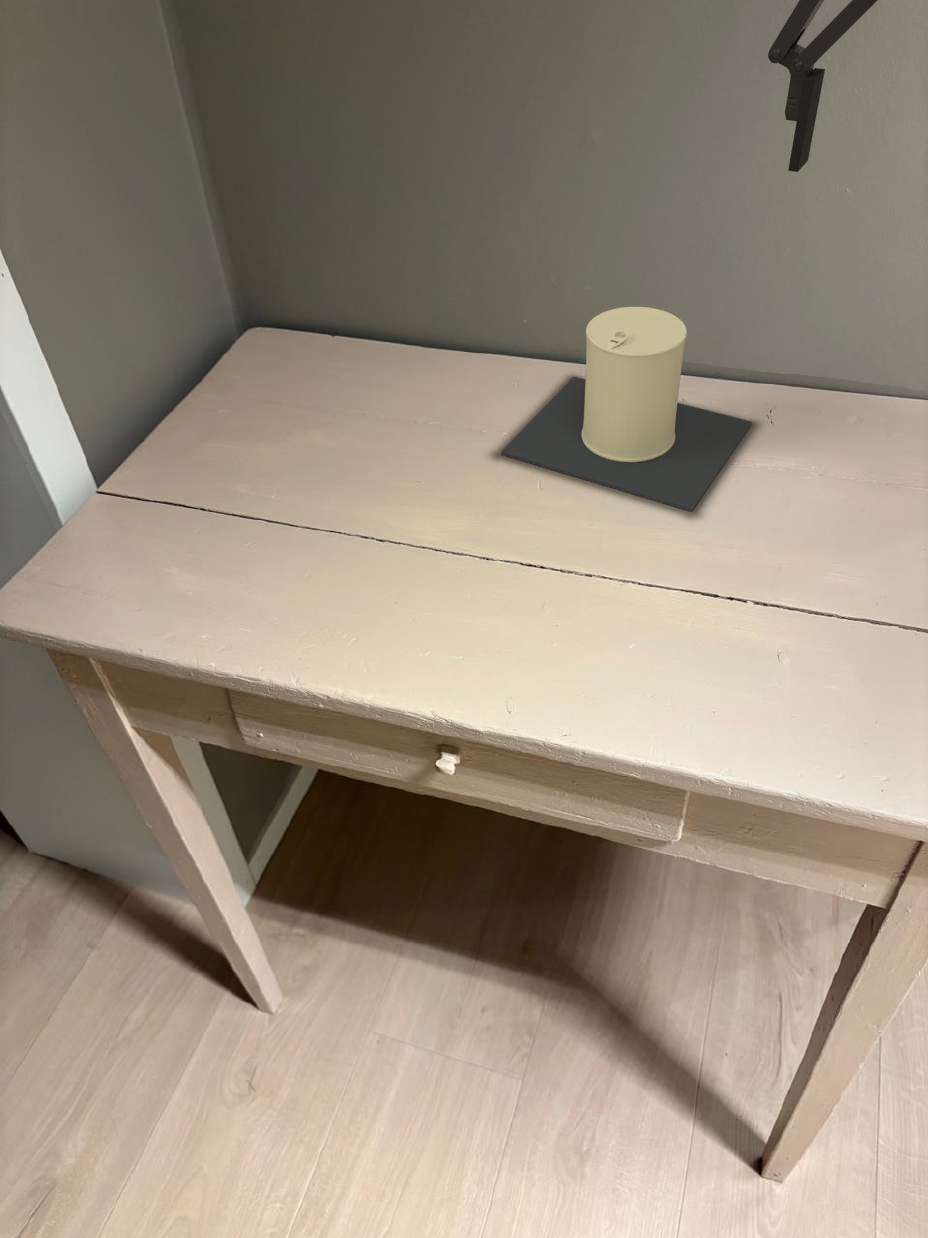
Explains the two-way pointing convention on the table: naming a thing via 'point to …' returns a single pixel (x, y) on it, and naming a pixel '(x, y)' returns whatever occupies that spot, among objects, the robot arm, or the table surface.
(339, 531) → the table surface
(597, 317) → the can
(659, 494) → the mat
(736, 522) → the table surface
